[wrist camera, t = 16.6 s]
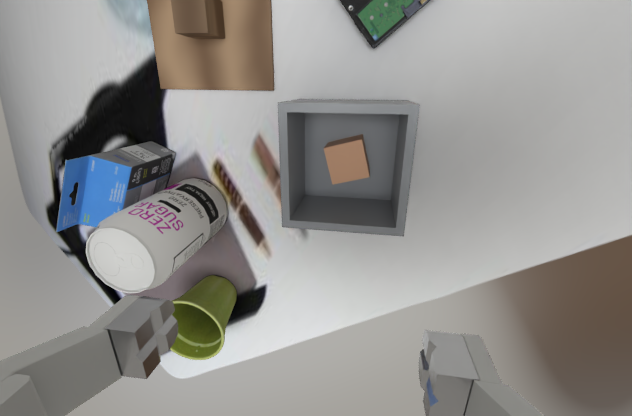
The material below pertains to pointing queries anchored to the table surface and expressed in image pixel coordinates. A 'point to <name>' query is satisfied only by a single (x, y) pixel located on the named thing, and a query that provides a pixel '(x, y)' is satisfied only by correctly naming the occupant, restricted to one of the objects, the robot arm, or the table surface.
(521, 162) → the table surface
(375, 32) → the disk drive
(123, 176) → the label tape cartridge
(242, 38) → the lid
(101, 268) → the supplement can
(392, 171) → the storage box
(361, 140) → the block
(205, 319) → the plant pot
